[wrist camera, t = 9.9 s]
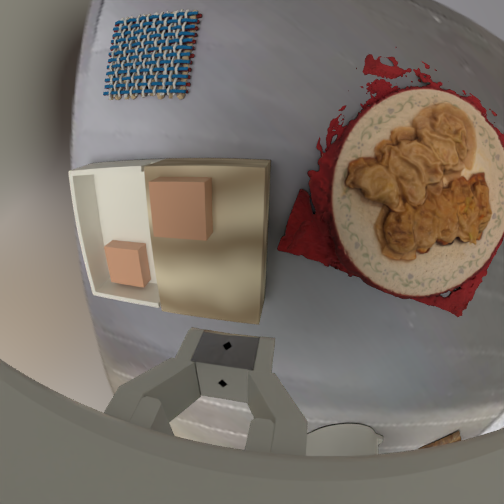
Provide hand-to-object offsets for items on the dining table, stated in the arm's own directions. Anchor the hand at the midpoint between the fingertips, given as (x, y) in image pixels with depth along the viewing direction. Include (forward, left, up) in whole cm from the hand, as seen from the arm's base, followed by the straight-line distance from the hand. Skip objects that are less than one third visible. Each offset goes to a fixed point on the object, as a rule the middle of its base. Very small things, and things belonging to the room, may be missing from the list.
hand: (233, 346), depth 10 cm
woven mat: (+15, +14, -22) cm, 30 cm away
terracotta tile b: (0, +8, -16) cm, 18 cm away
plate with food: (+3, -16, -22) cm, 28 cm away
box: (-5, +17, -21) cm, 28 cm away
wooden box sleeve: (-5, +6, -21) cm, 22 cm away
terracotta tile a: (-9, +18, -19) cm, 27 cm away
